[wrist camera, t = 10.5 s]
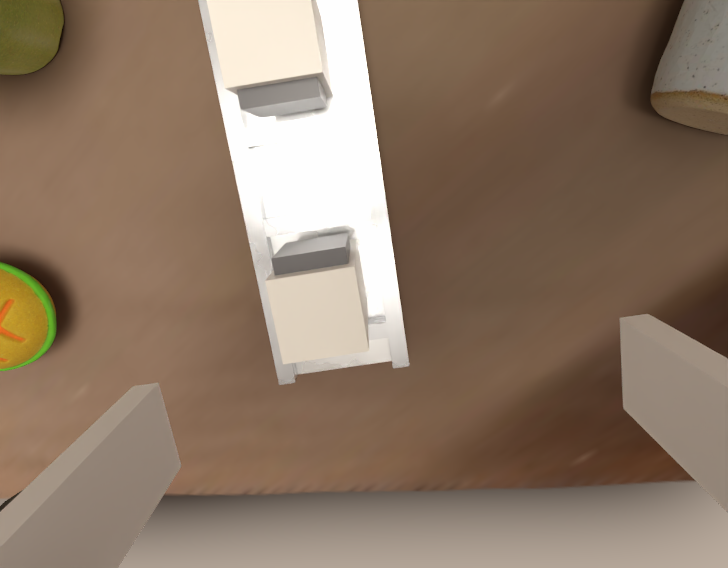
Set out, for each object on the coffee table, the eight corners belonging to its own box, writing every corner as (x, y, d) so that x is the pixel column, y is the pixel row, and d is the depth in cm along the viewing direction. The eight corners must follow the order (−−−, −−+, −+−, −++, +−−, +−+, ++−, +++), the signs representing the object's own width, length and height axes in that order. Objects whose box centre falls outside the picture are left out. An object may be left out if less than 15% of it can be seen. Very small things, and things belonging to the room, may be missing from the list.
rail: (346, -64, 27) (345, -85, 25) (406, 351, 33) (409, 365, 31) (201, -38, 27) (186, -57, 25) (285, 369, 33) (279, 384, 31)
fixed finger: (321, 17, 27) (304, -40, 19) (336, 111, 28) (326, 93, 20) (247, 30, 27) (201, -22, 19) (265, 122, 28) (229, 109, 21)
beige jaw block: (302, 312, 31) (282, 364, 23) (287, 236, 30) (261, 263, 22) (367, 302, 31) (369, 351, 23) (354, 225, 30) (351, 248, 22)
